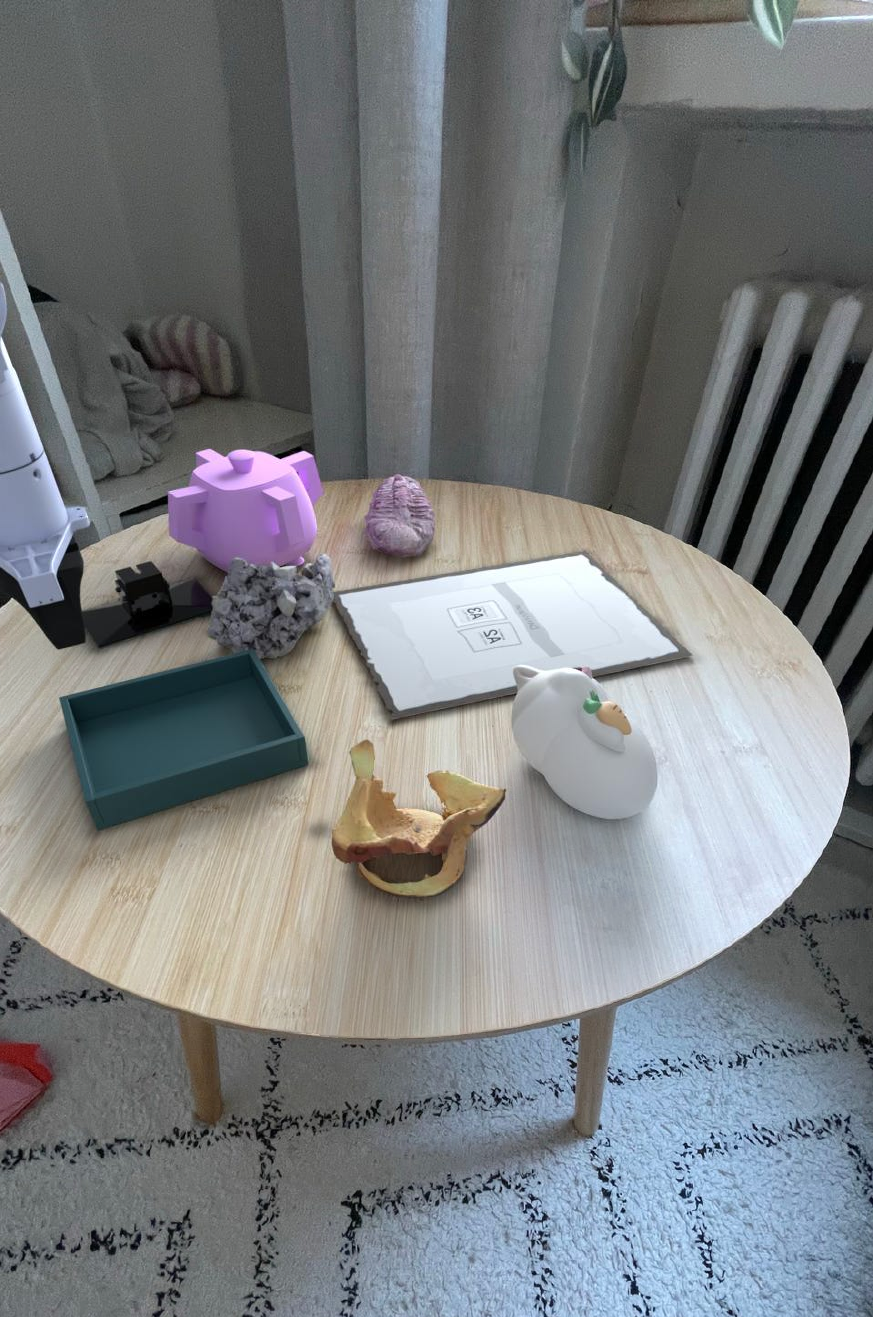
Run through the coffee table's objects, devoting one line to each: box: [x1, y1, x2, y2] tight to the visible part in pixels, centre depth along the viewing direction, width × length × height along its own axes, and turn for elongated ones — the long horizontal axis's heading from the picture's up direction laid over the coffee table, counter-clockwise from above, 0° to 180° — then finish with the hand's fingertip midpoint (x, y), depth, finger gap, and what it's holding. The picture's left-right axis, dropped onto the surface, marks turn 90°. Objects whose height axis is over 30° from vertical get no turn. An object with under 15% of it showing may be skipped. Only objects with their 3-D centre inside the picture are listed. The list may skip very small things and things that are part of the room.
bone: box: [330, 738, 507, 902], centre depth 52 cm, size 12×10×8 cm
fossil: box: [363, 473, 436, 558], centre depth 88 cm, size 8×14×5 cm, turn 4°
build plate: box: [82, 560, 213, 650], centre depth 75 cm, size 12×7×5 cm, turn 126°
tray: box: [58, 649, 309, 831], centre depth 62 cm, size 16×13×3 cm
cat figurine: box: [510, 665, 659, 820], centre depth 58 cm, size 10×8×15 cm
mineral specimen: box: [203, 552, 336, 660], centre depth 72 cm, size 12×9×10 cm
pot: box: [167, 448, 324, 573], centre depth 81 cm, size 18×17×12 cm
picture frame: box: [332, 550, 694, 720], centre depth 76 cm, size 22×1×30 cm
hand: (70, 641), depth 56 cm, fingers closed
